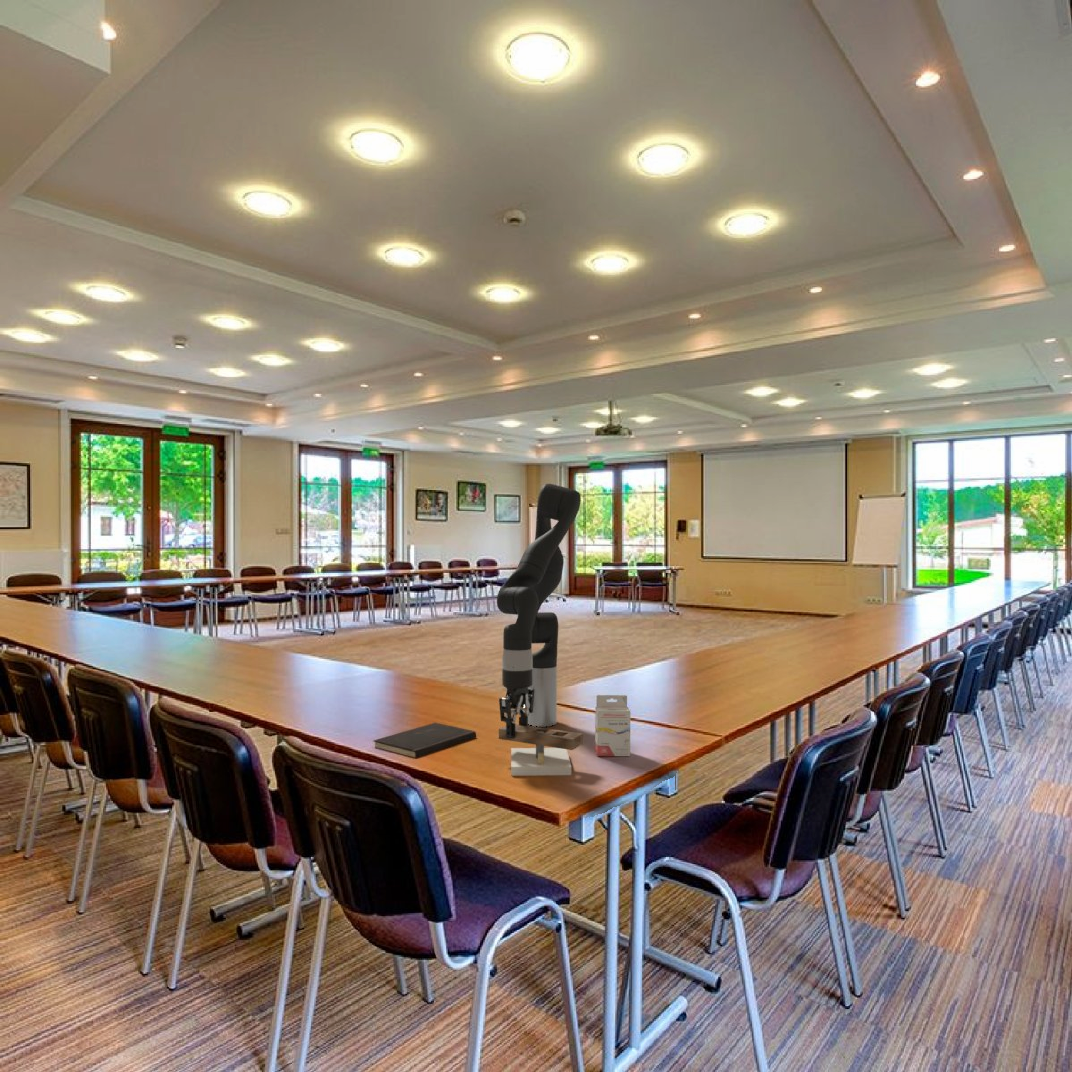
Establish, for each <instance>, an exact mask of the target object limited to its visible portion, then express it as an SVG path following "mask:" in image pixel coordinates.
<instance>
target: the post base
mask: <svg viewBox="0 0 1072 1072" xmlns="http://www.w3.org/2000/svg"><path fill="white" fill-rule="evenodd" d="M536 733H542V734H544V732H543V731H537V732H536ZM510 753H511V754H510V756H511V757H510V764H511V765H510V776H513V777H514V776H515V777H517V776H521V777H523V776H527V777H529V776H534V777H535V776H537V777H538V776H572V765H571V764H572V763H571V760H570V756H569V752H568V749H561V748H555V747H545V746H542V745H535V747H511V748H510Z"/></svg>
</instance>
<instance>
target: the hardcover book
mask: <svg viewBox="0 0 1072 1072" xmlns="http://www.w3.org/2000/svg"><path fill="white" fill-rule="evenodd" d="M475 737H476V738H477V732H476V731H475V730H470V729H467V728H462V727H457V726H453V725H448V724H443V723H439V722H432V723H428V724H425V725H422V726H418V727H415V728H412V729H408V730H405V731H402V732H398V733H397V732H396V733H395V734H390V735H387V736H385V737H384V736H383V737H381V738H377V739H373V742H374V748H377V749H381V750H386V751H389V752H393V753H397V754H399V755H400V754H401V755H405V756H408V757H411V758H415V759H417V758H420V757H423V756H427V755H429V754H432V753H435V752H437V751H441V750H445V749H447V748H449V747H450V748H451V747H452V746H453V747H454V746H456V745H458V744H461V743H464V742H467V741H471V740H473V738H474V739H476V738H475Z"/></svg>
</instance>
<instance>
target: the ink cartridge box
mask: <svg viewBox="0 0 1072 1072" xmlns="http://www.w3.org/2000/svg"><path fill="white" fill-rule="evenodd" d="M611 699H612V700H615V701H609V700H611ZM595 703H596V705H595V721H594V722H595V723H594V724H595V730H594V731H595V732H594V733H595V734H594V738H595V739H594V752H595V754H596V756H597V757H598V756H631V709H630V708H629V707H628V695H626V694H625V695H624V694H623V695H622V694H621V695H620V694H617V695H616V694H602V695H601V694H597V695H596V702H595Z"/></svg>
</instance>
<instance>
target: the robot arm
mask: <svg viewBox="0 0 1072 1072" xmlns="http://www.w3.org/2000/svg"><path fill="white" fill-rule="evenodd" d="M581 499H582V496H581V493H580V492H579V491H578V490H576V489H574V488H573V489H572V488H568V487H566V486H561V485H557V484H553V483H545V484H543V486H542V487H541V488H540V490H539V494H538V498H537V504H536V516H535V517H536V518H535V519H536V520H535V522H536V523H535V534H534V535H535V536H534V540H533V541H532V542H531V543H530V544H529V545H528V546H527V547H526V549H525V551H524V552H523V554H522V556H521V559H520V561H519V562H518V565H517V567H516V569H515V570H514V571H513V572H512V573H511V574H510V575H509V577H508V578H507V579H506V581H505V582H504V583H503V584H502V586H501V587H500V588H499V590H498V592H497V596H496V605H497V609H498V610H499V611H500V612H501V613H503V614H505V615H514V616H515V615H516V616H517V619H516V621H515V623H511V624H507V625H505V626H504V628H503V634H502V635H503V638H502V639H503V643H502V644H503V645H502V646H503V648H502V651H503V652H502V656H501V659H502V661H501V663H502V666H501V669H502V670H501V672H502V674H501V675H502V676H501V677H502V678H501V679H502V681H501V683H502V686H503V687H504V688H506V693H505V696H504V697H499V700H498V702H499V704H498V705H499V716H500V721H501V722H504V723H505V726H506V737H507V738H510V739H514V738H515V724H516V720H517V715H519V717H518V725H525V726H530V725H532V727H536V726H537V727H539V728H545V727H546V726H547V727H552V725H553V726H555V725H557V723H558V722H557V717H558V715H557V713H558V712H557V711H558V709H557V708H558V707H557V706H558V702H557V701H558V698H557V697H558V692H557V691H558V690H557V689H558V688H557V687H558V683H557V682H558V677H557V676H558V675H557V674H558V671H557V669H558V666H557V665H558V640H559V619H558V616H557V614H556V613H555V612H549V611H548V612H544V611H543V612H539V610H540V608H541V607H542V605H543V603H544V602H545V601H546V600H547V599H548V598H549V597H550V595H551V594H552V593H554V591H555V590H556V589H557V588H558V586H559V584H560V583H561V580H562V577H563V569H564V563H565V562H564V556H563V552H562V550H561V548H560V544H561V543H562V541H563V540H564V538H565V536H566V535H567V533H568V531H569V530H570V528H571V527H572V524H573V523H574V521H575V519H576V518H577V516H578V513H579V510H580V507H581V501H582V500H581ZM552 520H554V521H557V522H556V524H554V526H553V527H552ZM532 644H543V647H542V648H540V649H539V650H537V651H536V652H533V651H532ZM528 724H529V725H528Z"/></svg>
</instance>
